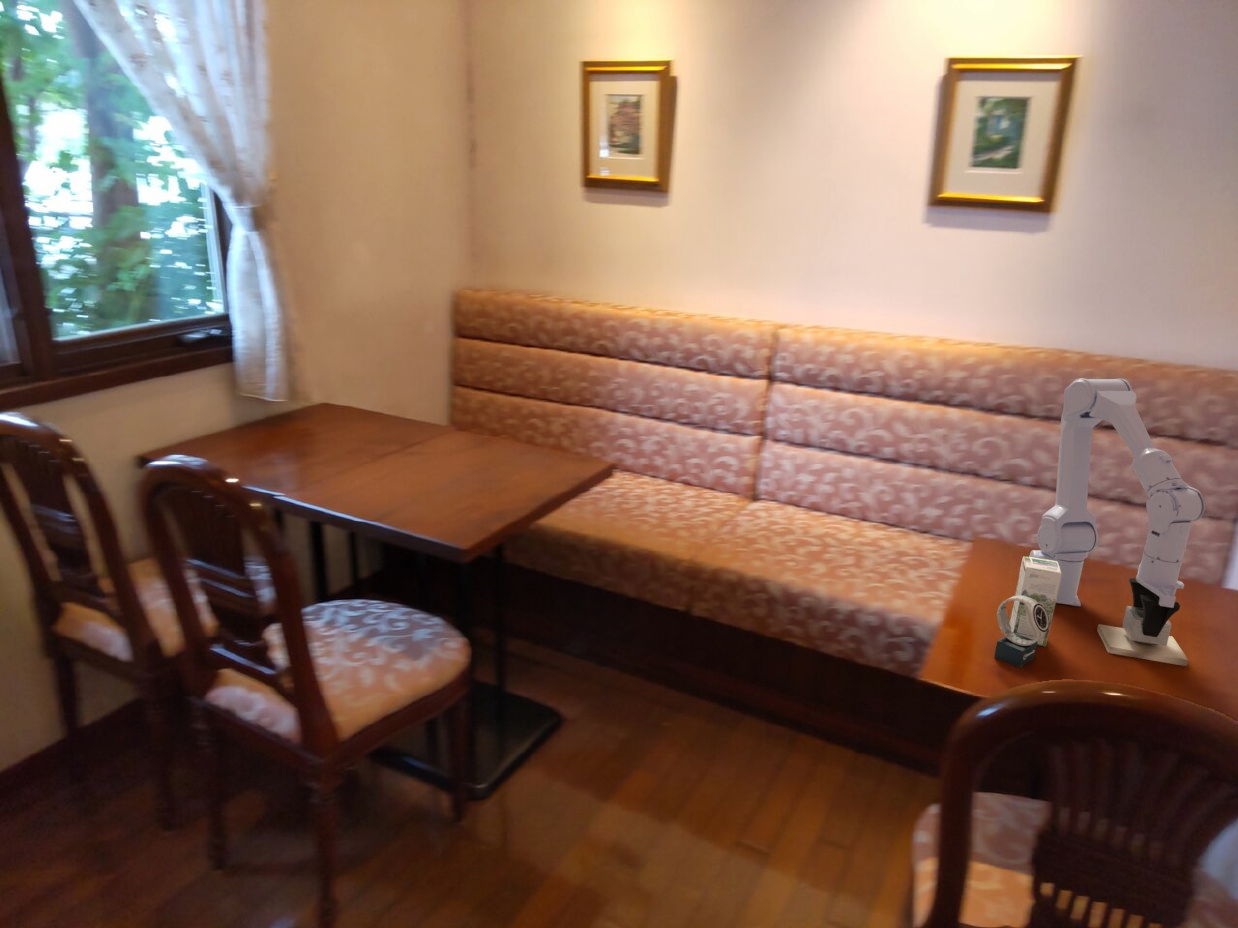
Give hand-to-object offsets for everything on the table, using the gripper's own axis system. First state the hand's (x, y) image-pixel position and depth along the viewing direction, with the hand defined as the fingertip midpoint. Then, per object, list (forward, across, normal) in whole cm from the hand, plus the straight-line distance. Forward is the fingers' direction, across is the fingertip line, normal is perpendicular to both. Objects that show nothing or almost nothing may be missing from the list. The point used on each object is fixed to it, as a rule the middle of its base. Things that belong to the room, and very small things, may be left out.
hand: (1145, 627), depth 149 cm
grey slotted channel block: (+2, 0, 0) cm, 2 cm away
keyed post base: (+4, 0, 0) cm, 4 cm away
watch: (+4, -13, +22) cm, 26 cm away
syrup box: (+4, -4, +19) cm, 20 cm away
